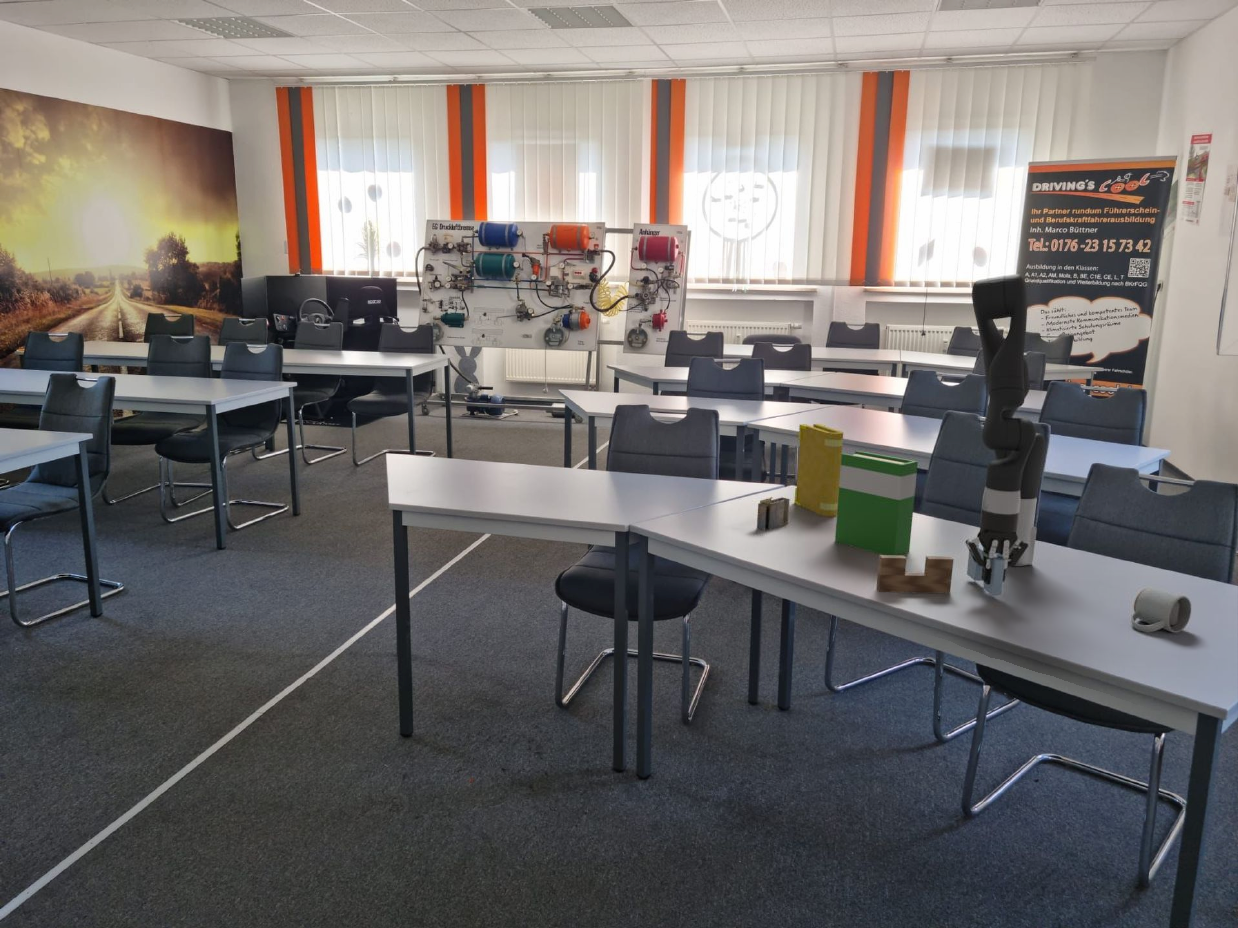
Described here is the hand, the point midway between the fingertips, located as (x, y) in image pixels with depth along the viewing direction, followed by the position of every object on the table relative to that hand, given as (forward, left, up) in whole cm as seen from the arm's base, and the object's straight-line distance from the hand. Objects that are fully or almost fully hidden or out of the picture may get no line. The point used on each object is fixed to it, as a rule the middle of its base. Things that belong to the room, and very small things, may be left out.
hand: (992, 583), depth 196 cm
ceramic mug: (-28, +16, -4) cm, 32 cm away
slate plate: (0, -4, -2) cm, 5 cm away
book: (+23, -75, -3) cm, 78 cm away
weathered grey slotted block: (+40, -54, -4) cm, 67 cm away
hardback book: (+17, -37, -3) cm, 40 cm away
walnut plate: (+17, -3, -3) cm, 17 cm away
